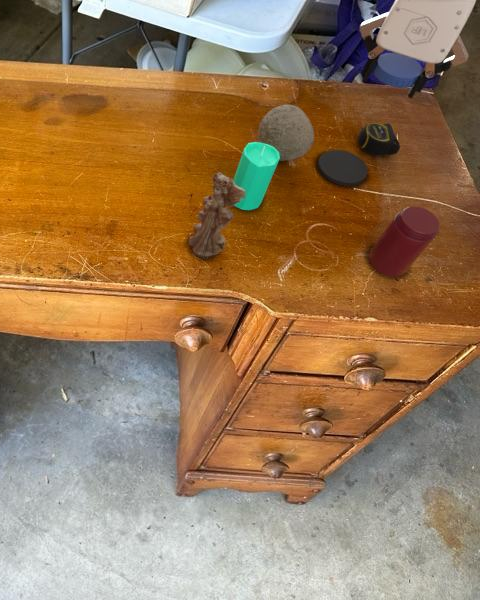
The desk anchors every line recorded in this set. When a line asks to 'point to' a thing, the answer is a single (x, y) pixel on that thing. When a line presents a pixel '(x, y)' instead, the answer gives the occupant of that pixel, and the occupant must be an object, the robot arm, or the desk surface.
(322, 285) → the desk surface
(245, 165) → the candle
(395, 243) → the jam jar
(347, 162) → the coaster
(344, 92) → the desk surface
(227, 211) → the figurine
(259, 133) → the decorative stone
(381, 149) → the tape measure
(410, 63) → the jam lid
